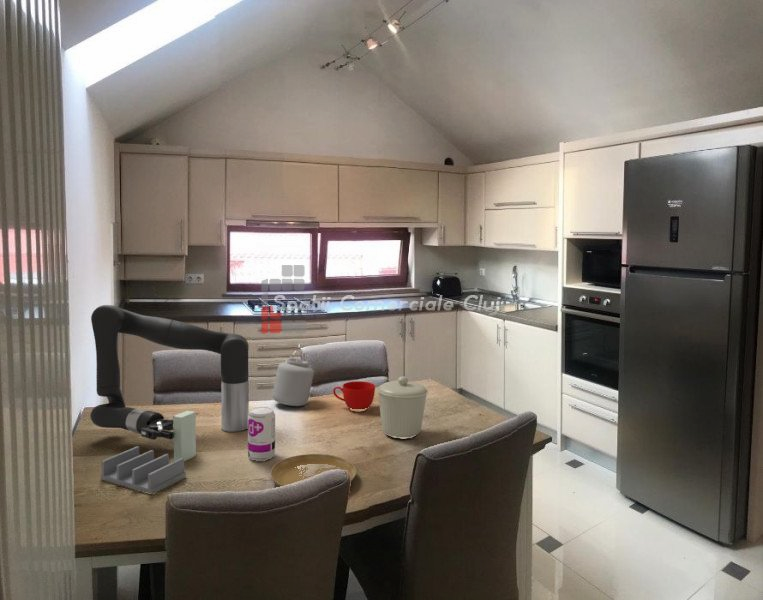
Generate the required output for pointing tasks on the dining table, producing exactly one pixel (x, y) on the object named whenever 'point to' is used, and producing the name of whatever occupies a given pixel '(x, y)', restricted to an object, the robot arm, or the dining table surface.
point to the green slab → (184, 435)
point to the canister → (402, 407)
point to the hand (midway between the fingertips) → (183, 431)
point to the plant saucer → (289, 474)
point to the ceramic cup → (357, 394)
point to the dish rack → (142, 470)
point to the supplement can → (261, 433)
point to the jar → (293, 382)
